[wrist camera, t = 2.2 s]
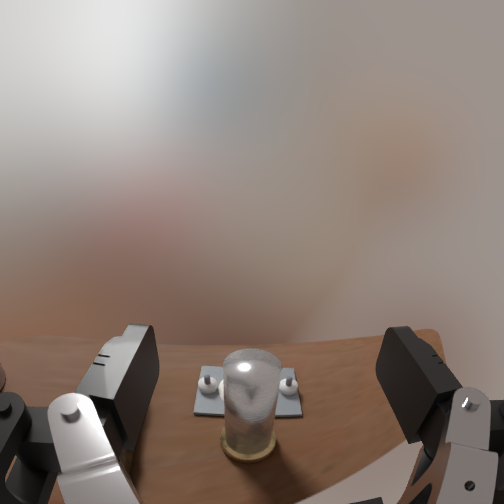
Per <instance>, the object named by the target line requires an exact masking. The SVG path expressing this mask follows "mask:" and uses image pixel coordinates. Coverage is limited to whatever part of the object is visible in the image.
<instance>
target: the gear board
mask: <svg viewBox="0 0 504 504" xmlns="http://www.w3.org/2000/svg"><path fill="white" fill-rule="evenodd" d="M297 387H298V383H297V382H296V379H295V373H294V368H282V370H281V378H280V385H279V392H278V399H277V406H276V413H275V417H293V416H302V411H301V405H300V400H299V395H298V389H297ZM194 414H199V415H213V416H224V385H223V367H214V366H202V369H201V374H200V379H199V381H198V390H197V396H196V401H195V407H194Z"/></svg>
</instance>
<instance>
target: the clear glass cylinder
mask: <svg viewBox="0 0 504 504" xmlns="http://www.w3.org/2000/svg"><path fill="white" fill-rule="evenodd" d="M281 370H282V366H281V363H280V361H279V359H278V358H277V357H276V356H274V355H273V354H271V353H269V352H267V351H264V350H260V349H242V350H238V351H235V352H233V353H231V354H230V355H229V356H227V358H226V359H225V360H224V363H223V385H224V419H225V427H224V428H223V430H222V432H221V447H222V450H223V451H224V453H225V454H226V455H227V456H228V457H229V458H231V459H232V460H234V461H236V462H240V463H245V464H252V463H258V462H261V461H263V460H265V459H266V458H268V457H269V456H270V455H271V454H272V452H273V451H274V448H275V443H276V434H275V431H274V429H273V426H274V420H275V413H276V406H277V399H278V392H279V385H280V378H281Z"/></svg>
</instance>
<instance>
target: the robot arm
mask: <svg viewBox="0 0 504 504" xmlns="http://www.w3.org/2000/svg"><path fill="white" fill-rule="evenodd" d="M158 376H159V358H158V352H157V346H156V340H155V334H154V329H153V327H152V326H151V325H141V324H129V326H128V327H127V329H126V331H125V332H124V334H123V335H122V337H117V336H115V337H114V338H113V339H111V340H110V341H108V342H107V343H106V344H104V346H103V348H102V349H101V351H100V352H99V354H98V356H97V357H96V359H95V360H94V362H93V364H92V365H91V366H90V368H89V370H88V371H87V373H86V375H85V376H84V378H83V379H82V381H81V383H80V384H79V386H78V388H77V389H76V391H75V393H69V394H65V395H62V396H60V397H58V398H56V399H55V400H54V401H53V402H52V403H51V404H50V406H49V407H27V406H26V405H25V403H24V401H23V399H22V398H21V397H20V396H19V395H18V394H16V393H13V392H4V393H1V394H0V504H48V501H49V498H50V495H51V492H52V489H53V486H54V484H55V481H56V478H57V479H58V483H59V487H60V490H61V493H62V496H63V498H64V501H65V504H144V502H143V500H142V499H141V497H140V495H139V493H138V492H137V490H136V488H135V487H134V485H133V483H132V481H131V479H130V477H129V476H128V474H127V472H126V470H125V468H124V466H123V464H122V462H121V460H120V458H119V456H120V453H121V451H122V448H124V449H129V450H134V449H135V446H136V443H137V440H138V437H139V434H140V430H141V427H142V424H143V421H144V418H145V415H146V412H147V409H148V406H149V403H150V400H151V397H152V394H153V391H154V389H155V386H156V383H157V380H158ZM376 376H377V379H378V381H379V383H380V385H381V387H382V389H383V391H384V393H385V395H386V397H387V399H388V401H389V403H390V405H391V407H392V409H393V411H394V413H395V416H396V418H397V420H398V422H399V424H400V426H401V428H402V431H403V433H404V435H405V437H406V439H407V441H408V444H411V443H415V442H419V441H422V443H423V446H422V448H421V449H420V451H419V454H418V457H417V460H416V463H415V466H414V469H413V472H412V474H411V477H410V479H409V482H408V484H407V487H406V490H405V491H404V494H403V495H402V497H401V499H400V500H399V501H398V503H397V504H504V400H489V399H488V397H487V396H486V395H485V394H484V393H483V392H481V391H480V390H478V389H475V388H471V387H464V388H463V387H462V385H461V384H460V383H459V381H458V380H457V379H456V377H455V376H454V375H453V373H452V372H451V371H450V369H449V368H448V367H447V366H446V364H443V360H442V359H441V358H440V357H439V356H438V354H437V353H436V351H435V350H434V349H433V348H432V346H431V345H429V344H428V343H426V342H425V341H423V340H422V339H420V338H418V337H417V336H416V335H415V333H414V332H413V331H412V330H411V328H410V327H408V326H403V327H390V328H388V329H387V330H386V332H385V335H384V339H383V342H382V346H381V349H380V352H379V355H378V359H377V362H376ZM5 378H6V377H5V372H4V370H3V368H2V366H1V363H0V390H1V389H2V387H3V385H4V383H5ZM15 455H16V456H17V459H16V461H15V463H14V465H13V467H12V470H11V472H10V474H9V476H8V479H7V481H6V483H5V476H6V473H7V471H8V469H9V467H10V465H11V463H12V460H13V458H14V456H15ZM58 473H60V474H58ZM350 504H383V501H382V498H381V497H378V498H375V499H370V500H366V501H361V502H356V503H350Z"/></svg>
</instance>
